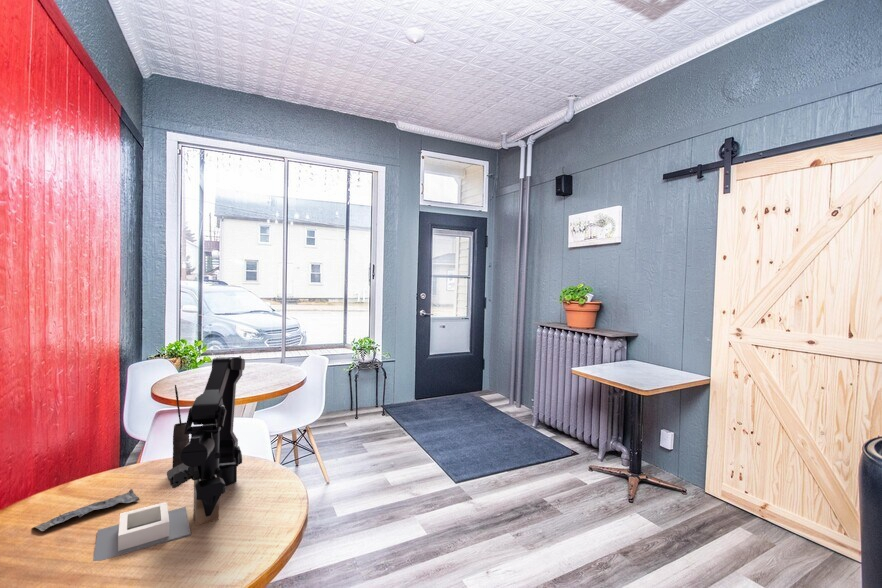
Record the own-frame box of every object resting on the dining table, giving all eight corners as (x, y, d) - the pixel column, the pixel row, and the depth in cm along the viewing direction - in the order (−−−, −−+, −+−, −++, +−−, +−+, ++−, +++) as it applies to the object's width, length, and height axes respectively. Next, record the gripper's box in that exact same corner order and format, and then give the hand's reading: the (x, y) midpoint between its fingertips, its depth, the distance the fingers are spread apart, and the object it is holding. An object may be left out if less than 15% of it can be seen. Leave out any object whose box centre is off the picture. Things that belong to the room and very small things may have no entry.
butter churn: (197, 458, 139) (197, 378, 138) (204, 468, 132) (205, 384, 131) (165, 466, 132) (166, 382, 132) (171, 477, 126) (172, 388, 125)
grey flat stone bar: (36, 536, 95) (36, 527, 95) (30, 527, 99) (30, 518, 99) (140, 501, 112) (140, 493, 112) (131, 494, 116) (131, 486, 116)
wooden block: (215, 509, 109) (215, 473, 109) (218, 520, 104) (219, 482, 104) (193, 515, 106) (193, 478, 106) (196, 527, 101) (196, 488, 101)
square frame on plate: (185, 510, 108) (185, 493, 108) (190, 537, 97) (190, 519, 97) (97, 533, 97) (98, 515, 97) (92, 567, 86) (92, 547, 86)
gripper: (167, 444, 107) (166, 501, 107) (171, 471, 92) (171, 538, 93) (214, 435, 114) (214, 489, 114) (226, 459, 99) (225, 522, 99)
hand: (206, 508), depth 105 cm, fingers closed on wooden block, 8 cm apart
